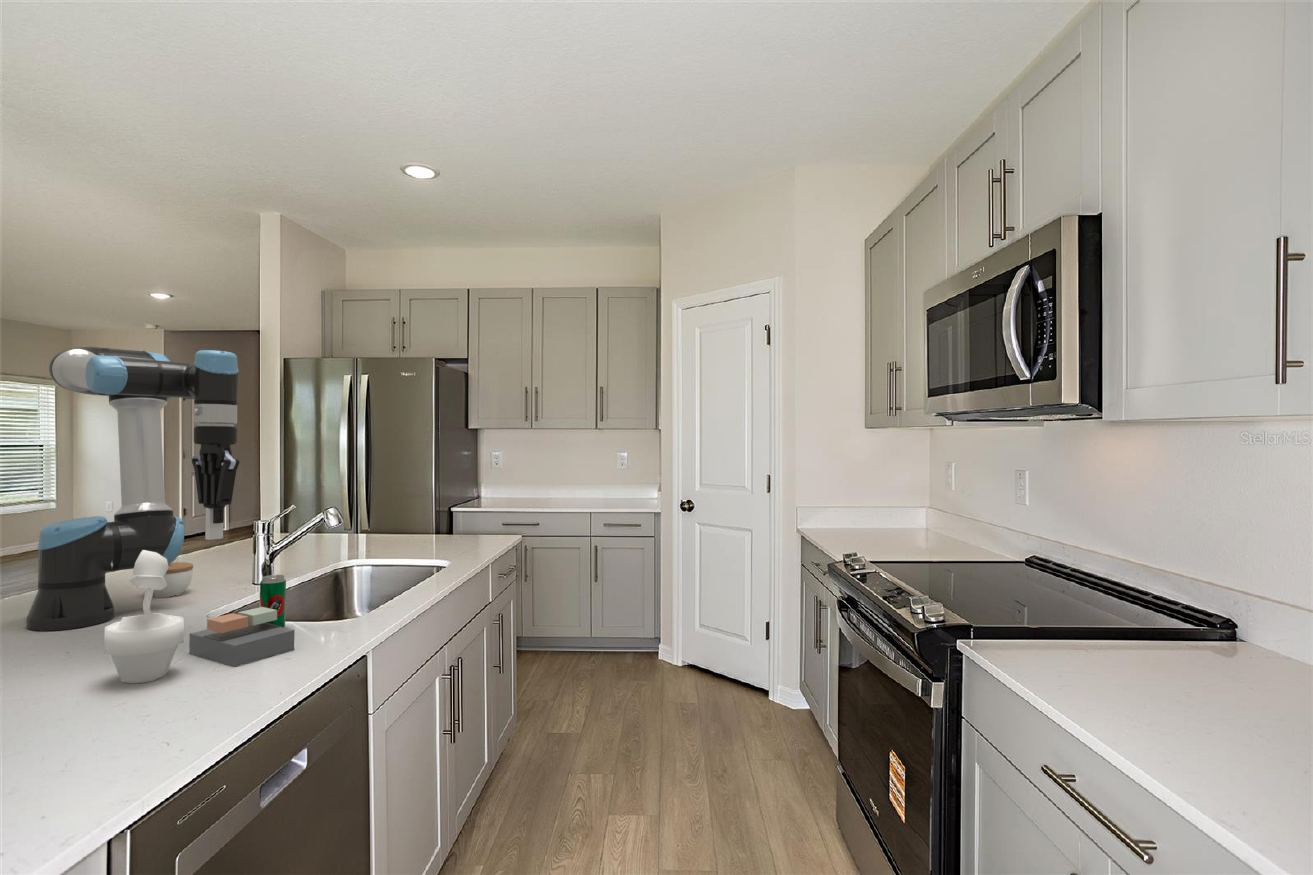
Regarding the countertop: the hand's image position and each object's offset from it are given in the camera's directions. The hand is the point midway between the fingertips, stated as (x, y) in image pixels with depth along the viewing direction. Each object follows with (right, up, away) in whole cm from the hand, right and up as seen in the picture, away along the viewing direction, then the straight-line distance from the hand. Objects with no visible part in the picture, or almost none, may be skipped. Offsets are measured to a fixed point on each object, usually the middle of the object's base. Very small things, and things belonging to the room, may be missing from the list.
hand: (214, 538), depth 140 cm
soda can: (+6, -22, +10) cm, 25 cm away
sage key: (+10, -17, -2) cm, 19 cm away
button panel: (+9, -22, -4) cm, 24 cm away
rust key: (+7, -17, -7) cm, 19 cm away
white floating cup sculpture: (+1, -22, -20) cm, 30 cm away
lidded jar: (-39, -21, +41) cm, 60 cm away
